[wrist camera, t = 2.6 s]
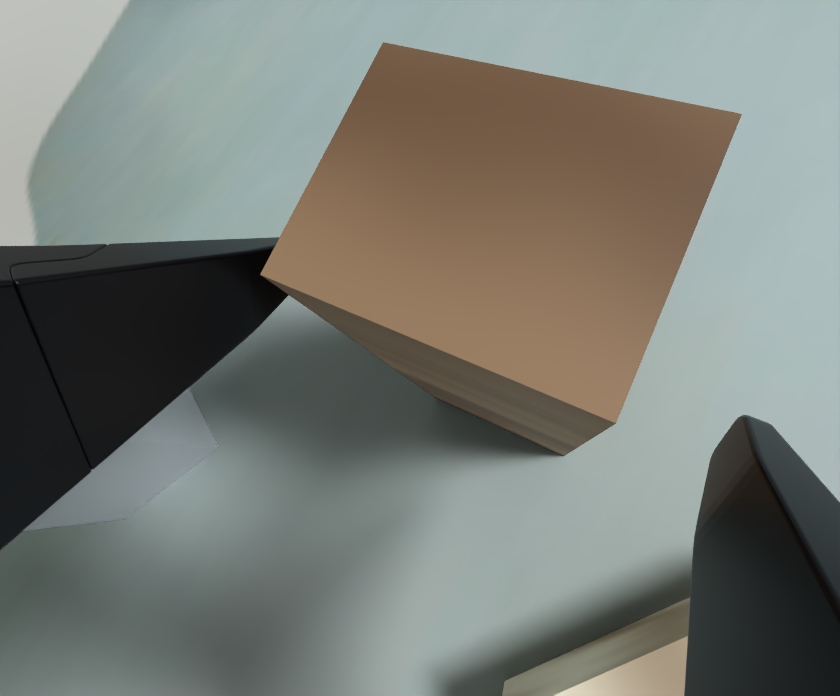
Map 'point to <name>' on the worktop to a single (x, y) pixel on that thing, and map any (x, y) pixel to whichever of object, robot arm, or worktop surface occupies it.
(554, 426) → the walnut block
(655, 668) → the birch block
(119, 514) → the grey block
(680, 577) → the worktop surface
